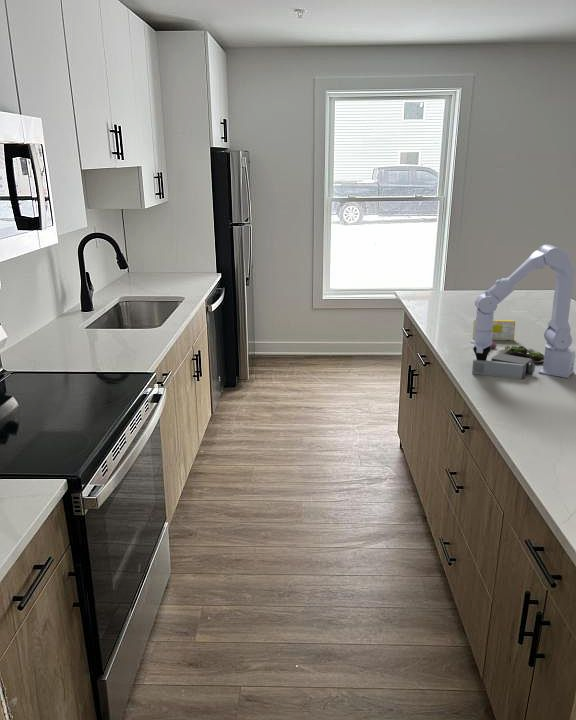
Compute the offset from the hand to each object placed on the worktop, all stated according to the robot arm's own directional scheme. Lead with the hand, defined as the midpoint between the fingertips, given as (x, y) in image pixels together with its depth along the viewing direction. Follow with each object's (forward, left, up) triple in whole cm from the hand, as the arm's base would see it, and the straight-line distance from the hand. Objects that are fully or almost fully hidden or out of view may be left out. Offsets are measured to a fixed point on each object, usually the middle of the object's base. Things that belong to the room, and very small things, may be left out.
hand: (480, 366), depth 206 cm
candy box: (+11, -42, -2) cm, 44 cm away
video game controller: (+9, -26, -2) cm, 28 cm away
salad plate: (-7, -23, -3) cm, 24 cm away
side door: (-6, +1, -2) cm, 7 cm away
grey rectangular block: (-8, -6, -2) cm, 11 cm away
